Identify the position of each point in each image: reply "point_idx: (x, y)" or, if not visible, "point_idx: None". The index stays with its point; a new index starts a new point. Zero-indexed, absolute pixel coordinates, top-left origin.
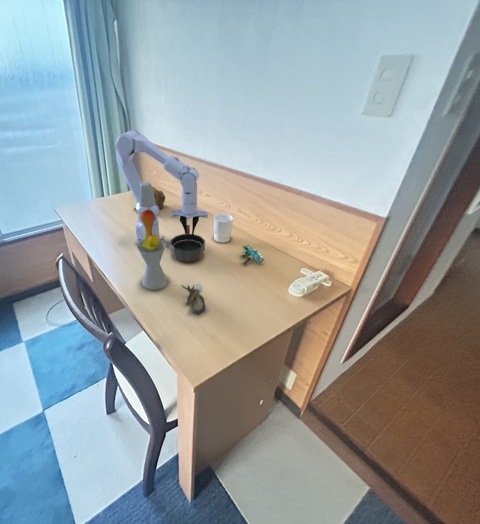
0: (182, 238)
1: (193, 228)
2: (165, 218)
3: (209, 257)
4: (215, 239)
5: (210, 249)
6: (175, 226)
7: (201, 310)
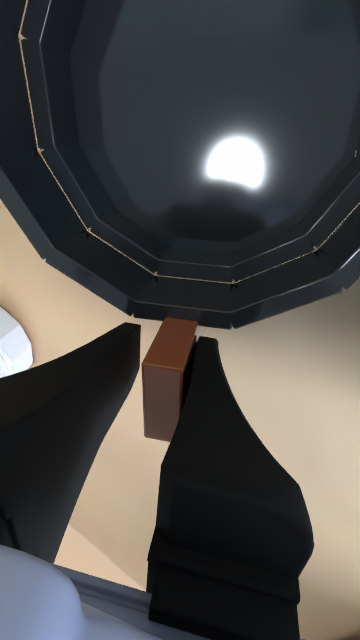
0: (252, 285)
1: (90, 353)
2: (325, 579)
3: None
4: (13, 327)
5: None
6: None
7: None
